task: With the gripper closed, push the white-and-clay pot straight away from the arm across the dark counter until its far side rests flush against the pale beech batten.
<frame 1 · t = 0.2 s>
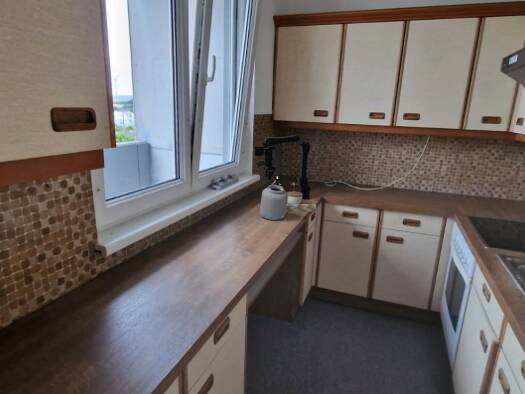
hand: (267, 178, 243), 14 cm above the worktop, fingers open, 9 cm apart
board: (299, 211, 220), on the worktop
jar: (273, 218, 204), on the worktop
lidded jar: (293, 205, 234), on the worktop
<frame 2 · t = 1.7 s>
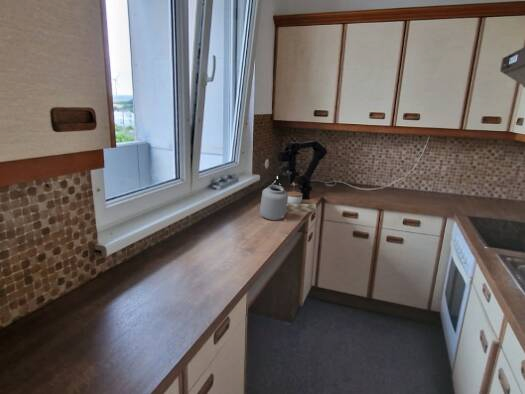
hand: (290, 183, 242), 12 cm above the worktop, fingers closed
nothing on the worktop moved.
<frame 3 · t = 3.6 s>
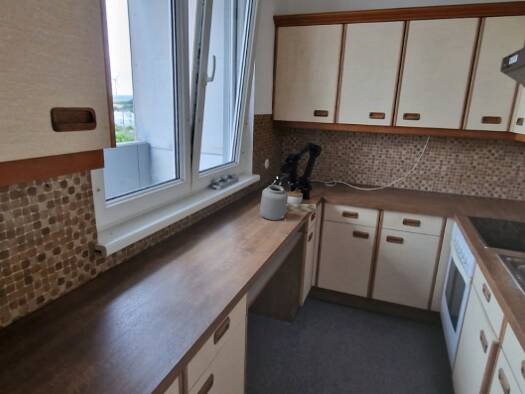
hand: (291, 194, 239), 5 cm above the worktop, fingers closed
lidded jar: (293, 205, 234), on the worktop, touching gripper
everything else where it was.
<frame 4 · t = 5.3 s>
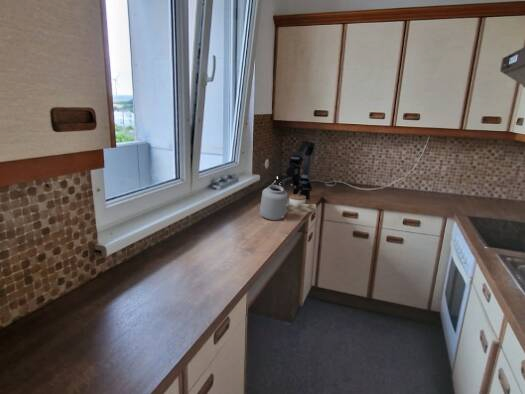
hand: (294, 197, 232), 5 cm above the worktop, fingers closed
lidded jar: (296, 208, 227), on the worktop, touching gripper
everything else where it was.
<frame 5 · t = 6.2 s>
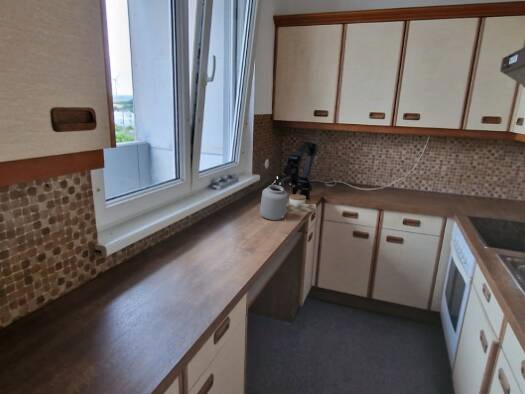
hand: (293, 196, 236), 5 cm above the worktop, fingers closed
lidded jar: (296, 208, 227), on the worktop
everything else where it was.
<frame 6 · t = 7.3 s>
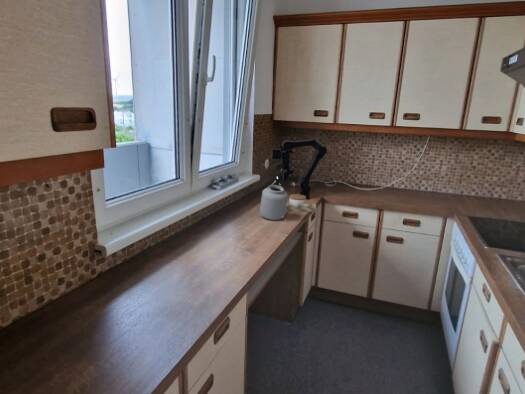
hand: (284, 181, 245), 12 cm above the worktop, fingers closed
nothing on the worktop moved.
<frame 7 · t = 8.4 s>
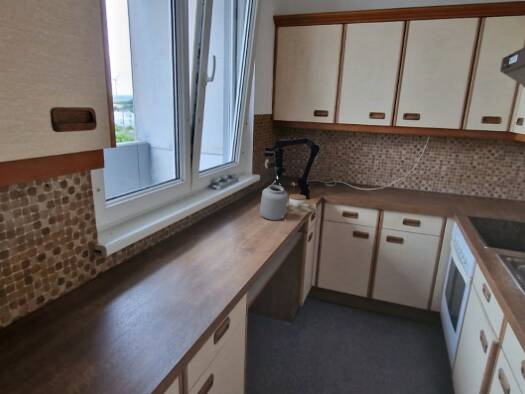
hand: (278, 179, 253), 12 cm above the worktop, fingers closed
nothing on the worktop moved.
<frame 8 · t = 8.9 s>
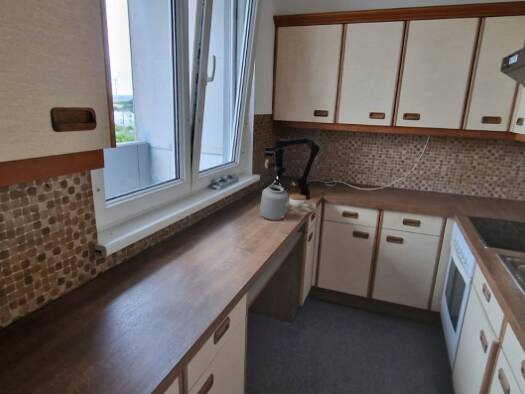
hand: (278, 179, 253), 12 cm above the worktop, fingers closed
nothing on the worktop moved.
at the end: lidded jar 0.6 cm from the target spot on the worktop beside the board, on the worktop; lidded jar tilted 0°; lidded jar moved 7.7 cm from its start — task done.
